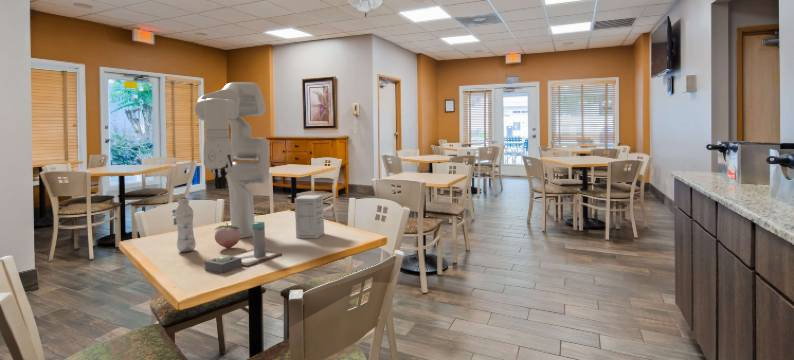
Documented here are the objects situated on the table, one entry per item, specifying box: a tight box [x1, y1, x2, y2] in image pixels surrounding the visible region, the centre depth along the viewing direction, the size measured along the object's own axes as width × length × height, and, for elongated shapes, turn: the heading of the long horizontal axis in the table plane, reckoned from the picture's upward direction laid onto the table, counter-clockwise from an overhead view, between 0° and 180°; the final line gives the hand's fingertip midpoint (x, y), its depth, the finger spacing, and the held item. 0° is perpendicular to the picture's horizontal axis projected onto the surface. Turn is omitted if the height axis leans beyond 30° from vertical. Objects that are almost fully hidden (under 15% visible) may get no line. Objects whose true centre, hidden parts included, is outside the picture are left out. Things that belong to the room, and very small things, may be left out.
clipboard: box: [232, 248, 283, 268], centre depth 161 cm, size 14×16×1 cm
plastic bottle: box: [174, 197, 197, 253], centre depth 170 cm, size 6×7×20 cm
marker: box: [252, 221, 267, 258], centre depth 160 cm, size 4×4×12 cm
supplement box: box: [294, 194, 325, 239], centre depth 192 cm, size 10×9×17 cm
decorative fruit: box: [214, 223, 241, 249], centre depth 174 cm, size 9×8×10 cm
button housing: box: [204, 255, 243, 275], centre depth 150 cm, size 8×8×3 cm
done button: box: [215, 254, 231, 263], centre depth 150 cm, size 4×4×2 cm
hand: (220, 188), depth 158 cm, fingers closed
